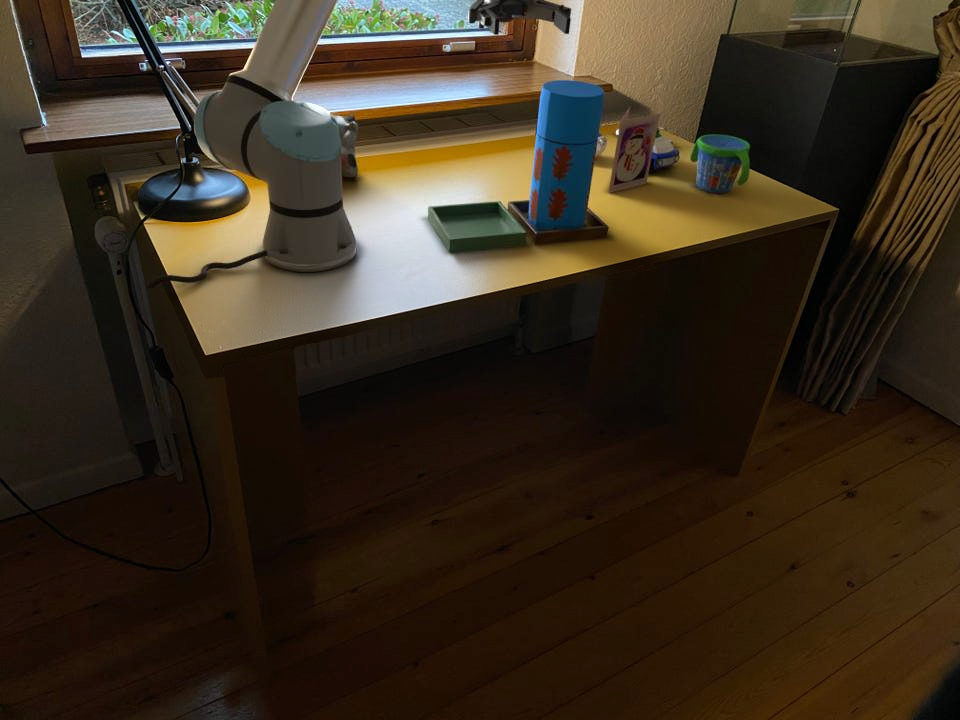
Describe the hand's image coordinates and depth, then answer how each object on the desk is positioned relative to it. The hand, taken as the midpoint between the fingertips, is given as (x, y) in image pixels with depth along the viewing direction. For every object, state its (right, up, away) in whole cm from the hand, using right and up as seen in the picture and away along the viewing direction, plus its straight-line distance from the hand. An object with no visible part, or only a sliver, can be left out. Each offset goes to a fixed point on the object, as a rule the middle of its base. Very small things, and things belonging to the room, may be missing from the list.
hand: (532, 26), depth 133 cm
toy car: (+29, -16, +35) cm, 48 cm away
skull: (+13, -14, +37) cm, 41 cm away
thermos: (+5, -35, +5) cm, 36 cm away
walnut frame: (+5, -35, +5) cm, 36 cm away
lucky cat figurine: (-41, -22, +19) cm, 51 cm away
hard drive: (+31, -6, +50) cm, 59 cm away
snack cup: (+41, -23, +26) cm, 54 cm away
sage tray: (-10, -37, +1) cm, 39 cm away
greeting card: (+20, -23, +25) cm, 39 cm away
